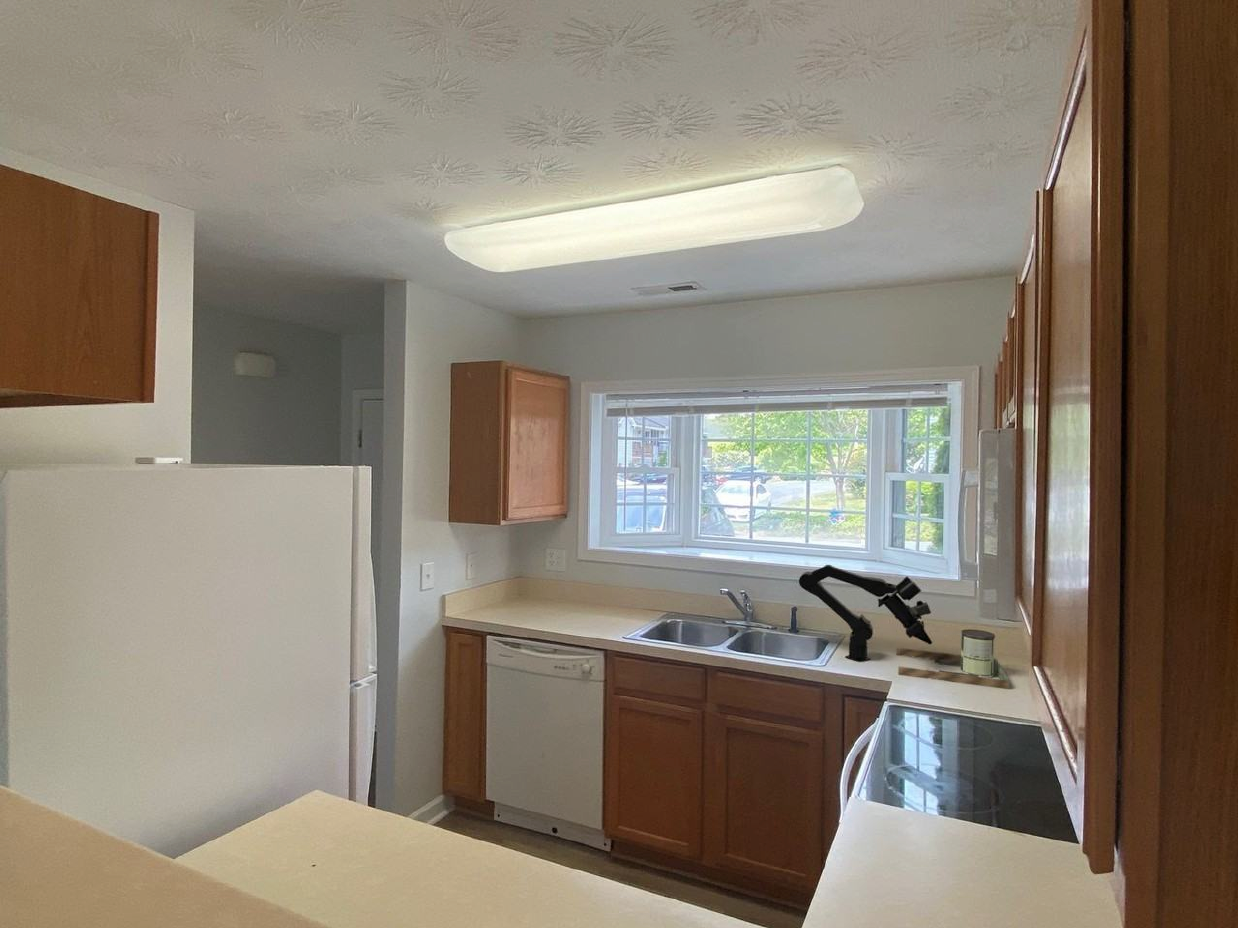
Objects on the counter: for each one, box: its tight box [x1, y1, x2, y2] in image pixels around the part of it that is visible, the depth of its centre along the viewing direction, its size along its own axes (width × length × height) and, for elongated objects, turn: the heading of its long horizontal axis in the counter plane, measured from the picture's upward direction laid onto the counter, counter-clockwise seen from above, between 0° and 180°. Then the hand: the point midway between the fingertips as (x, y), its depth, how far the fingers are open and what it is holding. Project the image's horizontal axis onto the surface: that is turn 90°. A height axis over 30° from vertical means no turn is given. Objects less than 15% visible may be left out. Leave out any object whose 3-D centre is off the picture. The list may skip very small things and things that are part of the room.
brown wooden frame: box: [896, 647, 1010, 690], centre depth 239 cm, size 33×27×3 cm
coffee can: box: [960, 628, 996, 678], centre depth 236 cm, size 10×10×14 cm
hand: (931, 643), depth 241 cm, fingers closed
